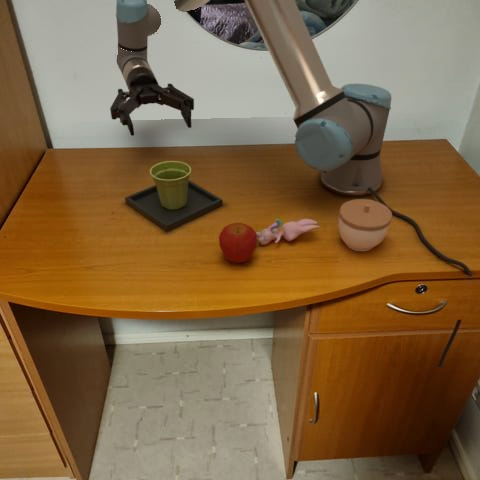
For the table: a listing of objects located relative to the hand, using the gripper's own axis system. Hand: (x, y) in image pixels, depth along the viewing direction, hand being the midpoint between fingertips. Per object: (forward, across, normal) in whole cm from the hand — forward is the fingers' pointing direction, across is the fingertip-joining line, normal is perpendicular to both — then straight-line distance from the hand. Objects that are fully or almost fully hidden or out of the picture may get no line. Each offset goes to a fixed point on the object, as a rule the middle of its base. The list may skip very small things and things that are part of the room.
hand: (161, 126), depth 111 cm
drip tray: (+11, +1, -14) cm, 18 cm away
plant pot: (+11, +1, -14) cm, 18 cm away
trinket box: (+40, -33, -9) cm, 53 cm away
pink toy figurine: (+33, -19, -10) cm, 40 cm away
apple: (+36, -7, -10) cm, 38 cm away
